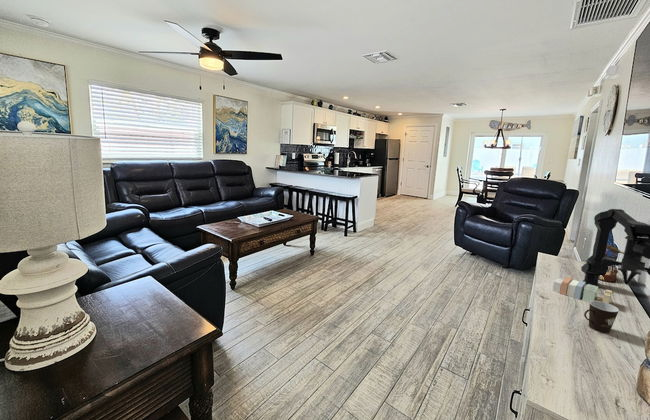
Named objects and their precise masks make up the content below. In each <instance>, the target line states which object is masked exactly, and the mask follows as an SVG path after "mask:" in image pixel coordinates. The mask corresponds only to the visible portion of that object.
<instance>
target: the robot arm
mask: <svg viewBox="0 0 650 420" xmlns="http://www.w3.org/2000/svg"><path fill="white" fill-rule="evenodd" d="M593 219H594V226H595V227H596V228H597V230H596V236H595V239H594V246H593V249H592V255H590V257H588V258H587V260H586V261H585V262H586V263H584V264H583V265H581V268H580V270H581V272H582V273H584V278H583V280H582V281H584V282H586V283H585V286H587V284H590V285H594V286H597V287H598V288H599V285H600V283H599V281H600V280H599V276H600V275H602V276H605V274H606V272H607V270H608V266H610V267H613V266H616V265H617V266H616V267H617V270H618V271H620V272H621V275H622V278H623V281H624V285H628V284H630V282H631V281H632V279H634V278H635V276H637V275H642V272H645V273H647V275H648V276H650V265H649V266H648V267H645V266H646V262H645V261H642V259H643V258H645V259H648V260H650V224H648V223H646V222H643V221H642V222H641V221H638V220H636V219H635V218H633V217H632V216H630V215H629V214H628V213H626V211H625V210H624V209H619V208H610V209H608V210H605V211H601V212H599V213H597V214H596V215H595V216H594V218H593ZM617 224H620V225H621V226H622V227H623V228H624V230H623V231H624V232H625V234H626V235H627V236H625V237H624V238H625V240H626V244H625V247H624V250H623V252H624V254H623V257H622V259H621V261H619V260H616V261H615V259H614V258H609V257H605V253H606V252H607V250H606V249H607V245H609V244H608V242H609V238H610V233H611V231H612V230H614V228H616V227H617ZM628 271H629V272H630V273H629V275H628Z"/></svg>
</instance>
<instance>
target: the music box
mask: <svg viewBox="0 0 650 420" xmlns="http://www.w3.org/2000/svg"><path fill="white" fill-rule="evenodd" d="M607 249H608V250H609V251H610V252H612V253H614V254H613V255H614V257H609V258H614V259H615V261H619V258H620V257H618V260H617V256H616V254H618V255H619V256H620V255H621V254H622V255H624V251H621V250H620V249H618V248H616V247H614V246H612V245H611V244H607ZM605 257H607V254H606V253H605ZM615 266H616V267H615V269H613V270H614V274H615V275H616V274H618V273H619V270H618V266H617V265H615ZM615 275H605V276H603V277H604V281H603V282H606V281H609V282H608V283H613V282H612V281H613V280H614V279H615V280H616V278H617V275H616V276H615Z"/></svg>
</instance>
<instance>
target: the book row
mask: <svg viewBox="0 0 650 420" xmlns="http://www.w3.org/2000/svg"><path fill="white" fill-rule="evenodd" d="M585 283H586V282H584V281H583V280H576V279H573V278H572V277H568V276H566V277H565V278H559V277H557V278H556V279H555V280H554V282H553V285H552V292H554V293H555V292H557V293H559V294H560V295H564V296H567V297H572V298H574V299H577V300H580V299H581V298H582V297H583V294H584V289H585V288H586V284H585Z"/></svg>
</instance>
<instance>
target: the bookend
mask: <svg viewBox="0 0 650 420" xmlns="http://www.w3.org/2000/svg"><path fill="white" fill-rule="evenodd" d="M612 293H613V291H612V290H609V289H605V291H604V294H603V297H601V296H596V299H595V301H601V302H605V303H608V304H610V302H611V297H612Z"/></svg>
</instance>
